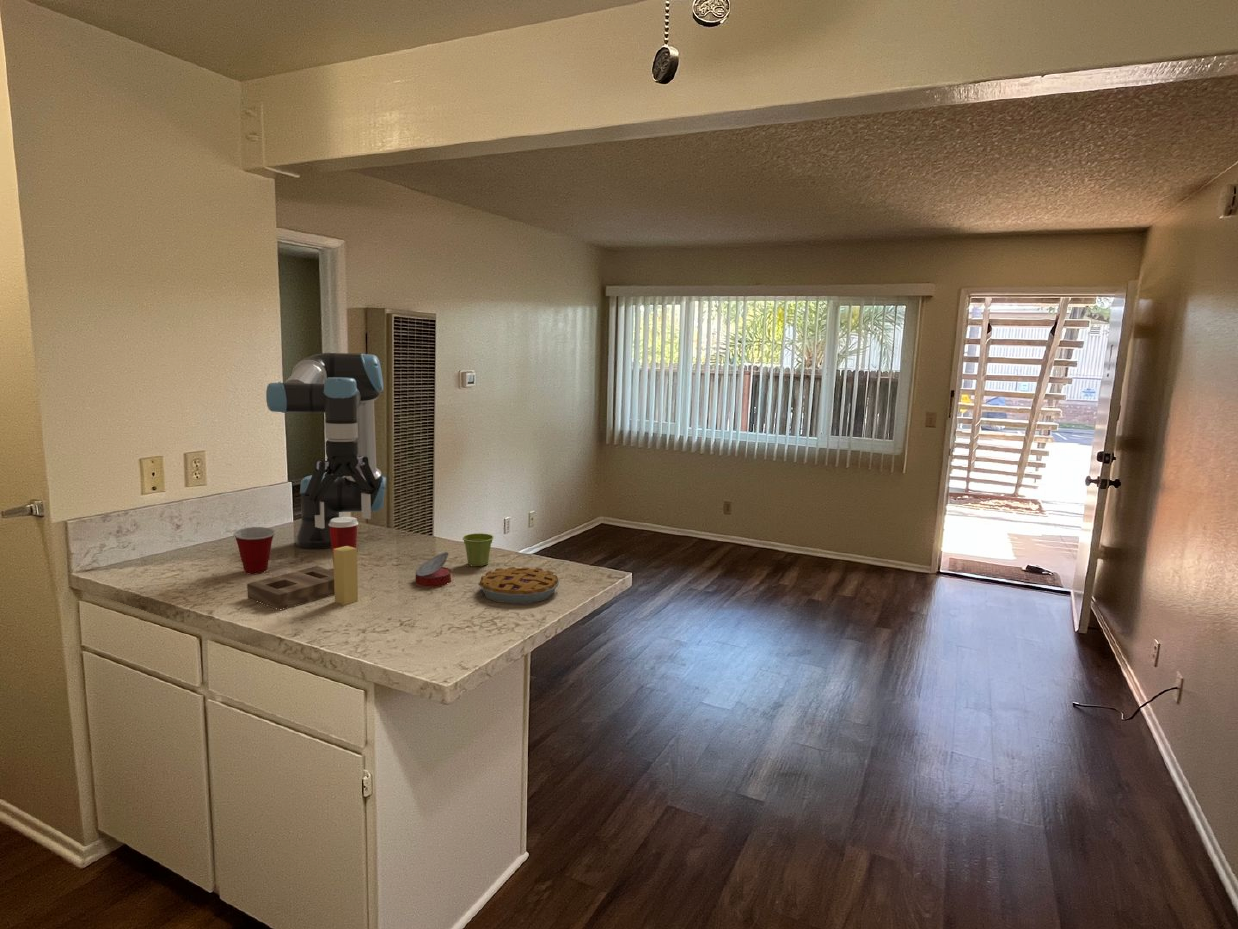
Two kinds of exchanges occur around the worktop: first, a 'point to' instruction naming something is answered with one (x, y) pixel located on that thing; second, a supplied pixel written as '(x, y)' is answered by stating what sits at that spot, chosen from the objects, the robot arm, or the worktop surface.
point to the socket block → (293, 587)
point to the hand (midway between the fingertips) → (343, 522)
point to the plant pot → (478, 548)
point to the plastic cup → (254, 547)
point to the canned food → (433, 572)
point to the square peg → (345, 575)
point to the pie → (518, 585)
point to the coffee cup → (343, 532)
